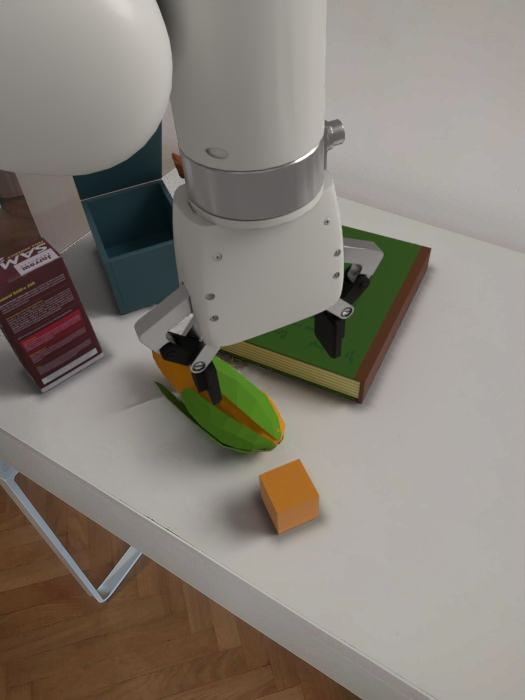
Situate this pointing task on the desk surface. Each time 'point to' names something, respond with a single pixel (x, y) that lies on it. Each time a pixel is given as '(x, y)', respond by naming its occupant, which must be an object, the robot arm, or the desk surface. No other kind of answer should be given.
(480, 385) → the desk surface
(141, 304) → the box
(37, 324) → the supplement box
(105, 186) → the lid
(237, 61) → the robot arm
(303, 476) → the cheese block
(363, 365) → the book
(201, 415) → the corn
